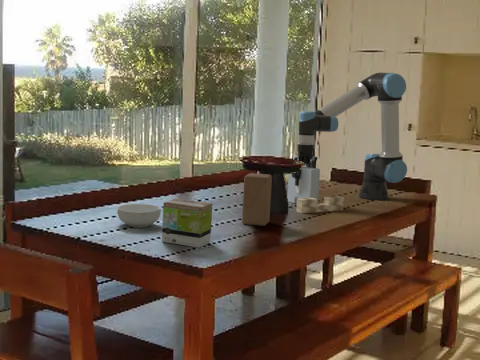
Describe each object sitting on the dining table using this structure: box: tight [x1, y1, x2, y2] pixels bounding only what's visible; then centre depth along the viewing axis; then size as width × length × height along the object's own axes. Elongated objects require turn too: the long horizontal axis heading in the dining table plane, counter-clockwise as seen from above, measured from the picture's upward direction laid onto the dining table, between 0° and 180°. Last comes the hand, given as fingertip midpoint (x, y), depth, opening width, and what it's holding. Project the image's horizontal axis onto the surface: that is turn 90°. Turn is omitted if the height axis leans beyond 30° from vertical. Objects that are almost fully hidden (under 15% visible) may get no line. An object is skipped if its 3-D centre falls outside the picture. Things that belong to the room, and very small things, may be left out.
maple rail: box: [295, 195, 345, 214], centre depth 336 cm, size 24×4×6 cm, turn 122°
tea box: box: [161, 198, 213, 249], centre depth 260 cm, size 15×10×15 cm, turn 69°
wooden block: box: [241, 172, 273, 227], centre depth 300 cm, size 10×10×20 cm
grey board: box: [286, 165, 321, 204], centre depth 350 cm, size 18×5×18 cm, turn 31°
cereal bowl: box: [117, 203, 162, 228], centre depth 285 cm, size 17×17×7 cm
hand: (302, 192), depth 350 cm, fingers closed on grey board, 5 cm apart
